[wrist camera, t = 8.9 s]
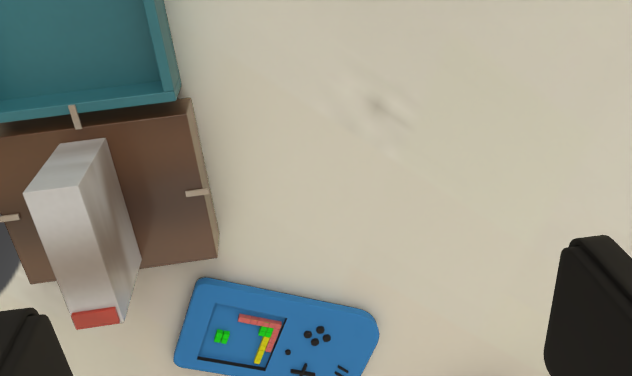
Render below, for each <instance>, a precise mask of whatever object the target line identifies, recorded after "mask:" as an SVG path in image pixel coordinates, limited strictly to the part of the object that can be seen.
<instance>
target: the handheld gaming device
mask: <svg viewBox="0 0 632 376" xmlns="http://www.w3.org/2000/svg"><path fill="white" fill-rule="evenodd" d="M378 339H379V330H378V327H377V323H376V321H375V319H374V318H373V317H372V316H371V315H370V314H369V313H368V312H366V311H364V310H361V309H357V308H353V307H348V306H343V305H338V304H333V303H328V302H324V301H319V300H314V299H309V298H304V297H299V296H295V295H290V294H285V293H280V292H275V291H270V290H266V289H261V288H256V287H251V286H246V285H241V284H237V283H232V282H227V281H222V280H217V279H212V278H206V277H204V278H201V279H199V280H198V281H197V282H196V284H195V287H194V290H193V294H192V297H191V300H190V303H189V307H188V310H187V313H186V316H185V320H184V323H183V326H182V329H181V332H180V336H179V339H178V342H177V345H176V349H175V353H174V363H175V364H176V365H177V366H179V367H182V368H188V369H194V370H200V371H206V372H212V373H219V374H225V375H231V376H361V374H362V372H363V370H364V368H365V366H366V364H367V362H368V360H369V358H370V357H371V355H372V353H373V351H374V349H375V347H376V345H377V342H378Z"/></svg>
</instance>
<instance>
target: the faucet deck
mask: <svg viewBox="0 0 632 376" xmlns="http://www.w3.org/2000/svg"><path fill="white" fill-rule="evenodd" d="M68 108H69V111H70V114H69V115H61V116H53V117H45V118H37V119H29V120H21V121H13V122H5V123H0V214H1V216H0V222H4V223H5V225H6V228H7V230H8V232H9V235H10V237H11V240H12V242H13V244H14V247H15V249H16V251H17V254H18V256H19V258H20V261H21V263H22V266H23V268H24V270H25V273H26V275H27V277H28V280H29V282H30V284H36V283H43V282H51V281H57V280H56V277H55V275H54V272H53V270H52V267H51V265H50V262H49V259H48V257H47V254H46V252H45V249H44V247H43V244H42V242H41V239H40V237H39V234H38V232H37V229H36V226H35V224H34V221H33V219H32V216H31V214H30V211H29V209H28V206H27V204H26V201H25V199H24V196H23V192H24V191H25V189H26V188H27V187H28V185H29V184H30V183H31V181H32V180H33V179H34V177H35V176H36V175H37V173H38V172H39V171H40V169H41V168H42V167H43V165H44V164H45V163H46V161H47V160H48V159H49V157H50V156H51V155H52V153H53V152H54V151H55V149H56V148H57V147H58V145H59V144H60V143H68V142H75V141H83V140H91V139H99V138H106V140H107V143H108V147H109V150H110V153H111V157H112V160H113V164H114V167H115V170H116V174H117V177H118V180H119V184H120V187H121V191H122V194H123V197H124V201H125V204H126V207H127V211H128V214H129V218H130V221H131V224H132V228H133V231H134V235H135V238H136V241H137V245H138V248H139V251H140V255H141V258H142V261H141V264H140V268H139V269H142V268H149V267H156V266H163V265H170V264H177V263H184V262H191V261H198V260H205V259H212V258H217V257H218V244H219V229H218V224H217V220H216V215H215V210H214V205H213V201H212V196H211V191H210V186H209V181H208V177H207V172H206V167H205V162H204V157H203V153H202V148H201V143H200V138H199V133H198V129H197V124H196V119H195V114H194V109H193V105H192V100H191V98H183V99H177V100H176V101H172V102H164V103H156V104H148V105H140V106H132V107H124V108H116V109H108V110H100V111H92V112H84V113H78V112H77V109H76V106H75V104H74V105H68Z"/></svg>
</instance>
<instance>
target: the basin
mask: <svg viewBox="0 0 632 376" xmlns="http://www.w3.org/2000/svg"><path fill="white" fill-rule="evenodd" d="M181 85H182V84H181V80H180V75H179V70H178V66H177V61H176V56H175V52H174V47H173V42H172V38H171V33H170V28H169V24H168V19H167V14H166V10H165V5H164V0H0V123H5V122H13V121H21V120H29V119H37V118H45V117H53V116H61V115H69V114H70V111H69V108H68V105H74V104H75V106H76V109H77V112H78V113H84V112H92V111H100V110H108V109H116V108H124V107H132V106H140V105H148V104H156V103H164V102H172V101H176V100H177V97H178V94H179V91H180V88H181Z"/></svg>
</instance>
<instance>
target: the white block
mask: <svg viewBox="0 0 632 376" xmlns="http://www.w3.org/2000/svg"><path fill="white" fill-rule="evenodd" d="M23 196H24V199H25V201H26V204H27V206H28V209H29V211H30V214H31V216H32V219H33V221H34V224H35V226H36V229H37V232H38V234H39V237H40V239H41V242H42V244H43V247H44V249H45V252H46V254H47V257H48V259H49V262H50V265H51V267H52V270H53V272H54V275H55V277H56V280H57V282H58V285H59V287H60V290H61V293H62V295H63V298H64V300H65V303H66V305H67V308H68V310H69V313H70V315H71V318H72V320H73V323H74V326H75V328H76V330H78V329H85V328H92V327H98V326H105V325H112V324H119V323H124V321H125V317H126V313H127V310H128V306H129V303H130V299H131V296H132V292H133V289H134V285H135V282H136V278H137V275H138V271H139V268H140V264H141V261H142V258H141V255H140V251H139V248H138V245H137V241H136V238H135V235H134V231H133V228H132V224H131V221H130V218H129V214H128V211H127V207H126V204H125V201H124V197H123V194H122V191H121V187H120V184H119V180H118V177H117V174H116V170H115V167H114V164H113V160H112V157H111V153H110V150H109V147H108V143H107V140H106V138H99V139H91V140H83V141H75V142H68V143H60V144H59V145H58V147H57V148H56V149H55V151H54V152H53V153H52V155H51V156H50V157H49V159H48V160H47V161H46V163H45V164H44V165H43V167H42V168H41V169H40V171H39V172H38V173H37V175H36V176H35V177H34V179H33V180H32V181H31V183H30V184H29V185H28V187H27V188H26V189H25V191H24V192H23Z"/></svg>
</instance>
